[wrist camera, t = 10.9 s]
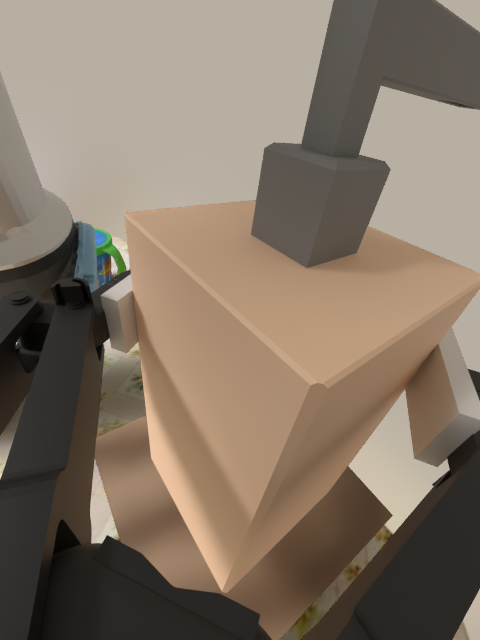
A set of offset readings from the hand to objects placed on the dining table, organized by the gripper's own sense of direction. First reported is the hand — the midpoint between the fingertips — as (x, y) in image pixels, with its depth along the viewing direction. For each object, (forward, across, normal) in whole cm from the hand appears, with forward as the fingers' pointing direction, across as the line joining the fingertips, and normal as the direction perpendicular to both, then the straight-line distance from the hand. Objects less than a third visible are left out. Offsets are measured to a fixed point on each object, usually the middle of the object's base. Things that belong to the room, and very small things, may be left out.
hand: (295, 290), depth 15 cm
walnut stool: (-3, -1, -27) cm, 27 cm away
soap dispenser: (-3, +1, -12) cm, 13 cm away
